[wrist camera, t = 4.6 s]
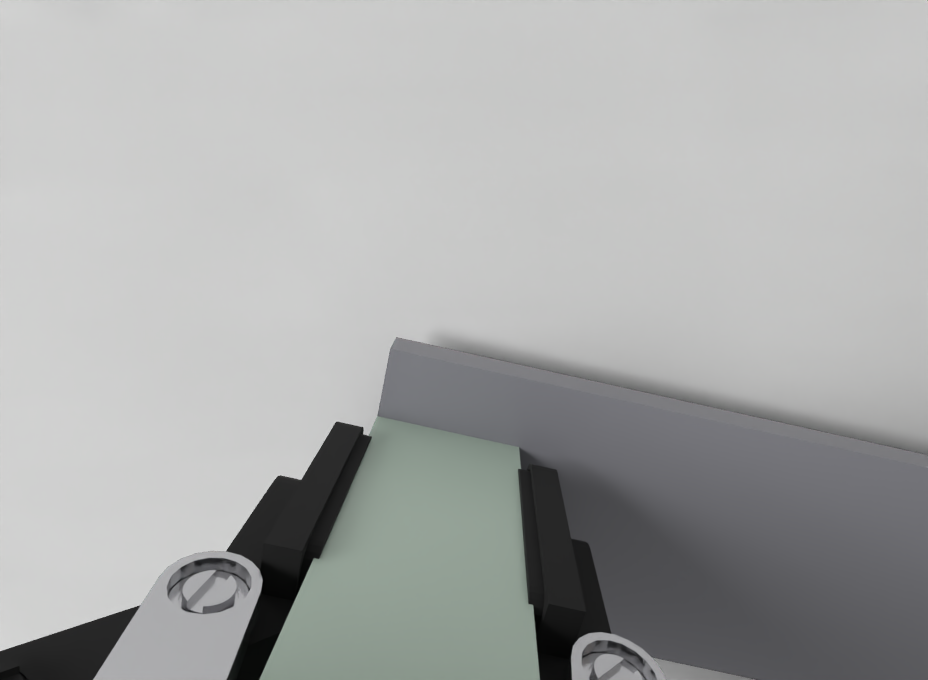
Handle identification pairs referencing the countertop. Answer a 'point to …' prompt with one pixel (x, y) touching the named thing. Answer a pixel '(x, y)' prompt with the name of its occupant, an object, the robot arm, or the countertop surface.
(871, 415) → the countertop surface
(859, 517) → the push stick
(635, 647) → the robot arm
